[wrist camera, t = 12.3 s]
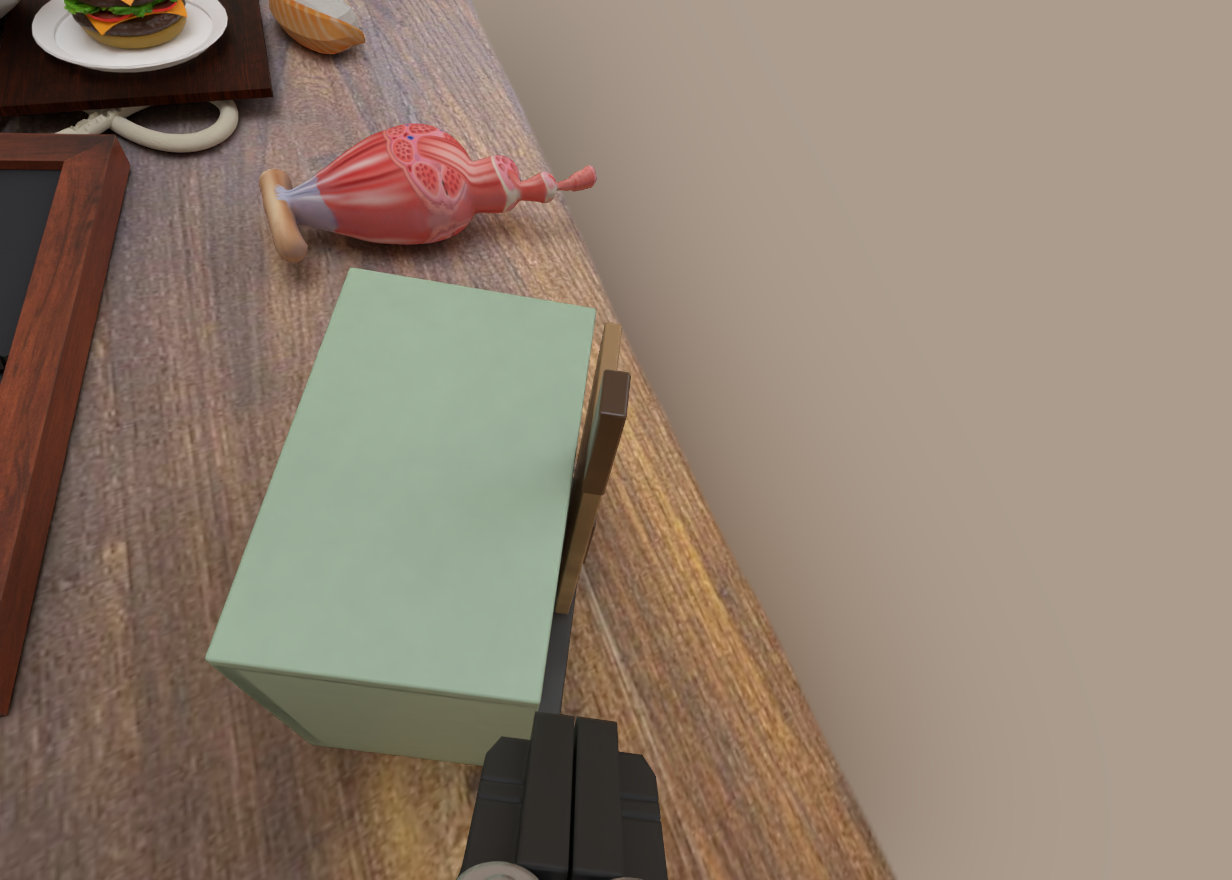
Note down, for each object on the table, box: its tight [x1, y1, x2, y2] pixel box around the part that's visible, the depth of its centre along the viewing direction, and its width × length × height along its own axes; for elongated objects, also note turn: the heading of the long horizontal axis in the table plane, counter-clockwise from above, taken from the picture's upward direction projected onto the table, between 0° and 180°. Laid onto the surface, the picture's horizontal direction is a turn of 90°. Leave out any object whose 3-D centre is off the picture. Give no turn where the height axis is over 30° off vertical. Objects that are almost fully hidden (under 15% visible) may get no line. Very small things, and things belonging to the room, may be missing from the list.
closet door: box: [555, 323, 631, 614], centre depth 23 cm, size 1×6×14 cm, turn 174°
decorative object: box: [0, 100, 238, 152], centre depth 37 cm, size 11×1×5 cm
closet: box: [205, 267, 596, 766], centre depth 24 cm, size 8×11×11 cm
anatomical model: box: [259, 124, 597, 262], centre depth 35 cm, size 15×5×6 cm
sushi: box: [269, 0, 365, 54], centre depth 42 cm, size 3×6×3 cm
